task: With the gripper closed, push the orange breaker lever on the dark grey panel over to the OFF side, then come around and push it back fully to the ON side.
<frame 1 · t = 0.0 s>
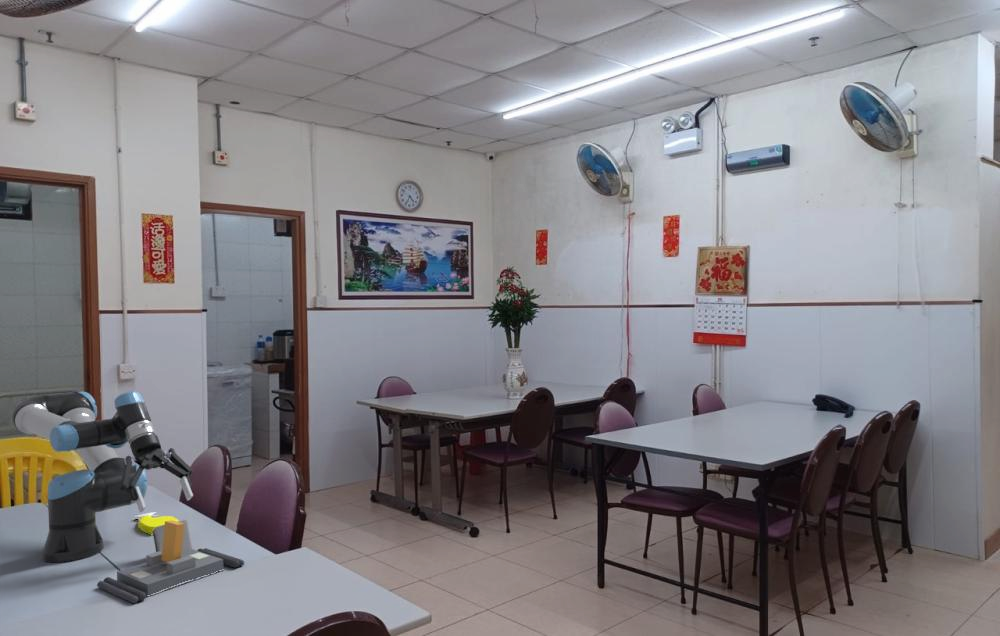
hand: (167, 503, 195), 15 cm above the table, tool tilted 35°, fingers open, 13 cm apart
breaker lever: (172, 543, 181), point 9 cm above the table, hinge at 8.0°
cable bundle 2: (217, 561, 191), on the table
breaker panel: (171, 576, 180), on the table
electrical switch: (171, 555, 197), on the table
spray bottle: (154, 526, 228), on the table
cable bundle 1: (123, 592, 170), on the table
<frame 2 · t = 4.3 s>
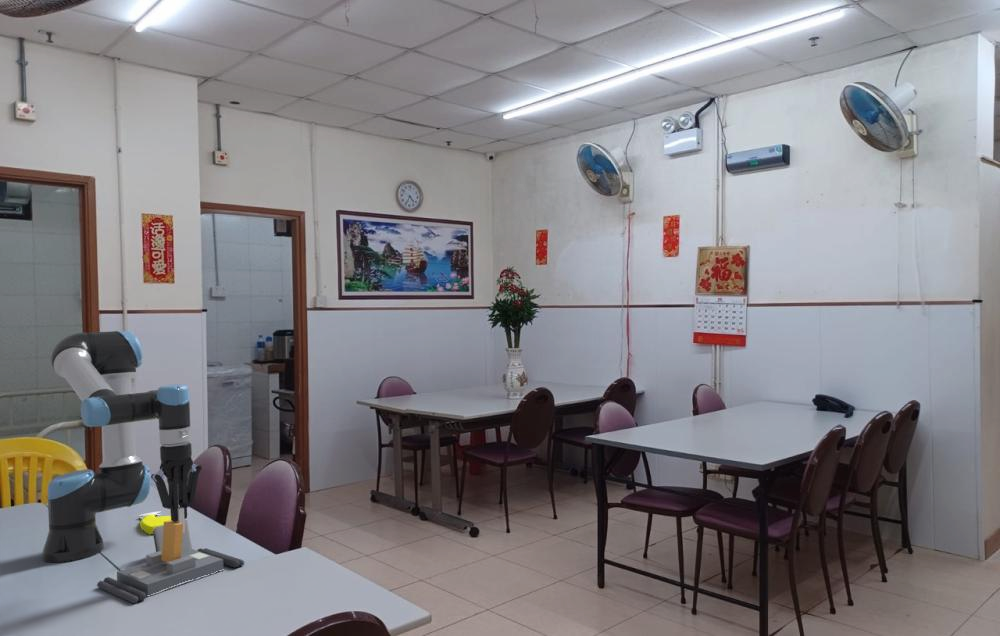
hand: (179, 532, 182), 11 cm above the table, tool pointing down, fingers closed
breaker lever: (172, 543, 180), point 9 cm above the table, hinge at 6.2°, touching gripper
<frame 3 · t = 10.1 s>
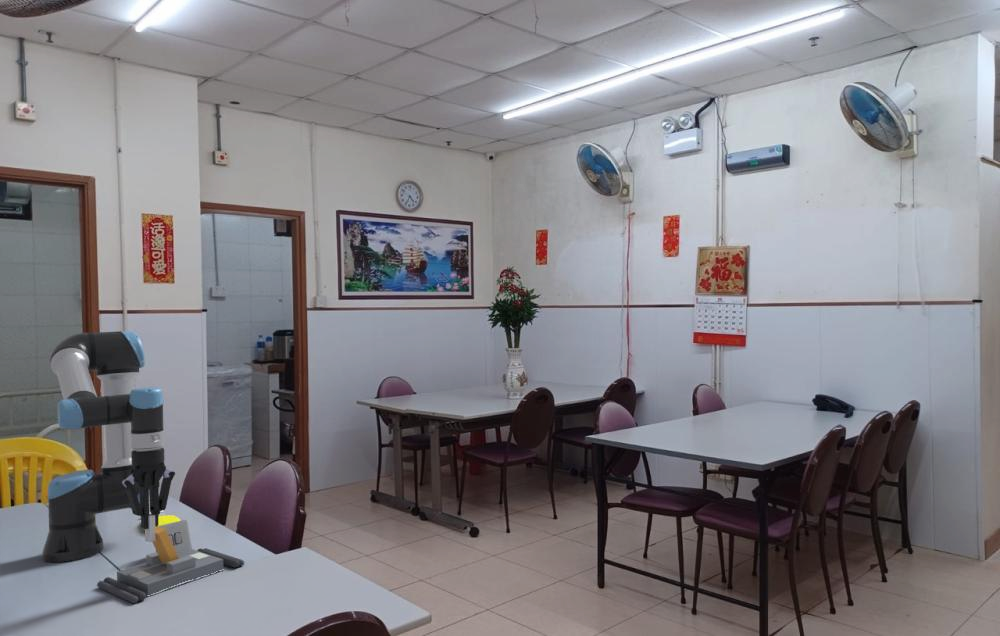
hand: (150, 540, 176), 11 cm above the table, tool pointing down, fingers closed
breaker lever: (163, 546, 179), point 8 cm above the table, hinge at -20.5°, touching gripper
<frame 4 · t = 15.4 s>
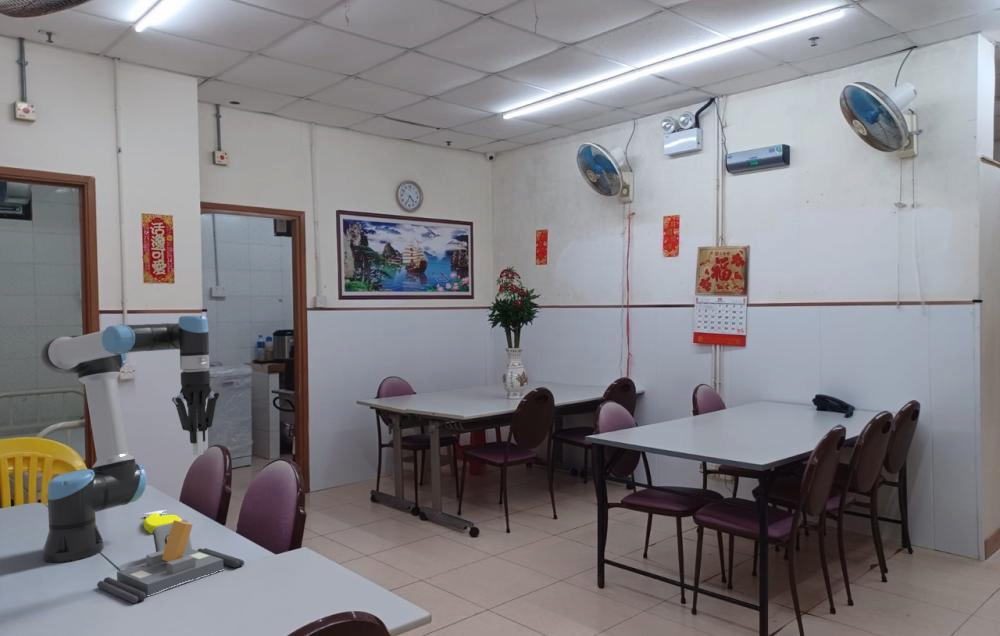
hand: (198, 454, 193), 29 cm above the table, tool pointing down, fingers closed
breaker lever: (176, 543, 181), point 8 cm above the table, hinge at 21.8°
at the end: breaker lever at +22° (first picture: +8°) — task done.
